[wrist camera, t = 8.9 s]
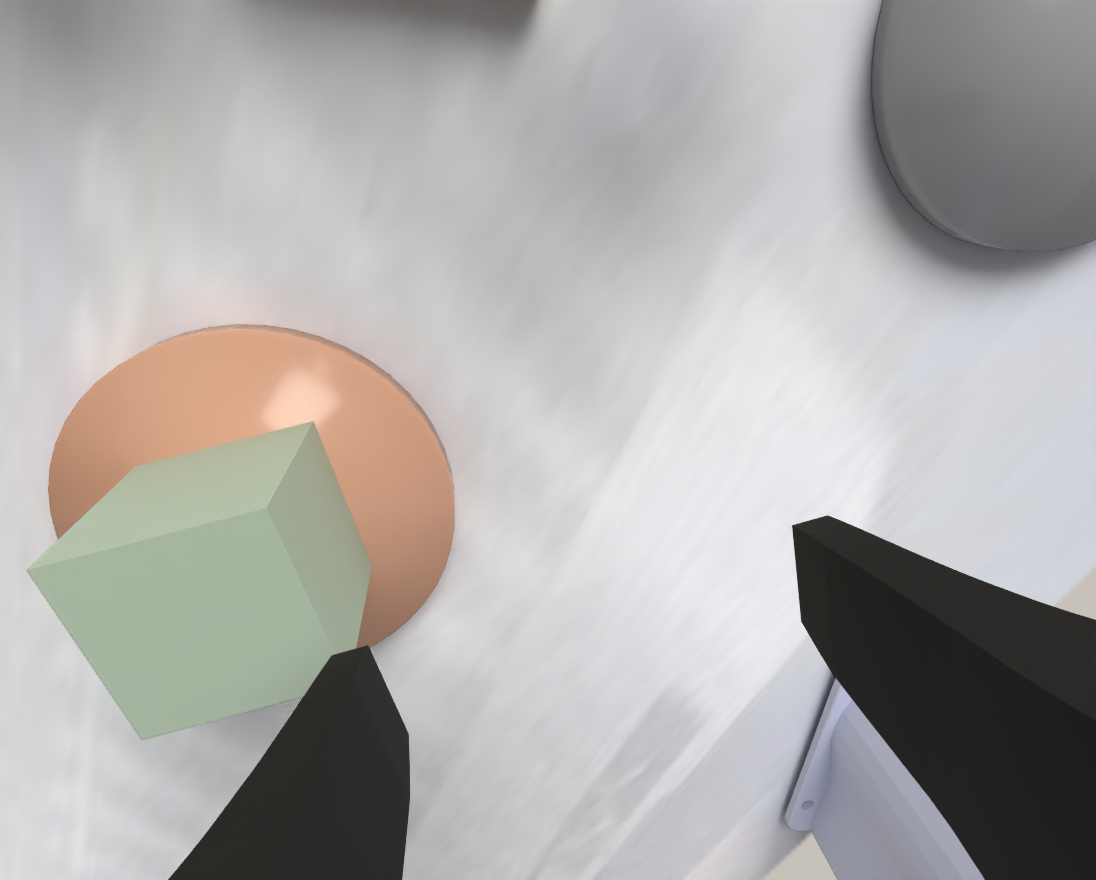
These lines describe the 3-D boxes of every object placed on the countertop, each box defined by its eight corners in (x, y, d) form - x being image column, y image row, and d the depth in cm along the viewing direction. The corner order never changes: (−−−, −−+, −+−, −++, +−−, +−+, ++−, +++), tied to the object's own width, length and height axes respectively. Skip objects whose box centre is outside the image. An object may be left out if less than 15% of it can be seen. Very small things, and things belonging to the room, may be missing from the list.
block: (372, 566, 18) (349, 684, 14) (213, 608, 18) (142, 740, 14) (313, 420, 16) (266, 507, 12) (135, 466, 16) (26, 570, 12)
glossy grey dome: (1136, 265, 19) (1171, 271, 18) (822, 224, 17) (843, 228, 16) (1336, -174, 15) (1393, -196, 14) (959, -284, 13) (996, -317, 12)
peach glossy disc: (442, 648, 21) (442, 670, 20) (97, 646, 19) (79, 670, 18) (467, 343, 17) (468, 352, 16) (40, 305, 15) (13, 314, 14)
